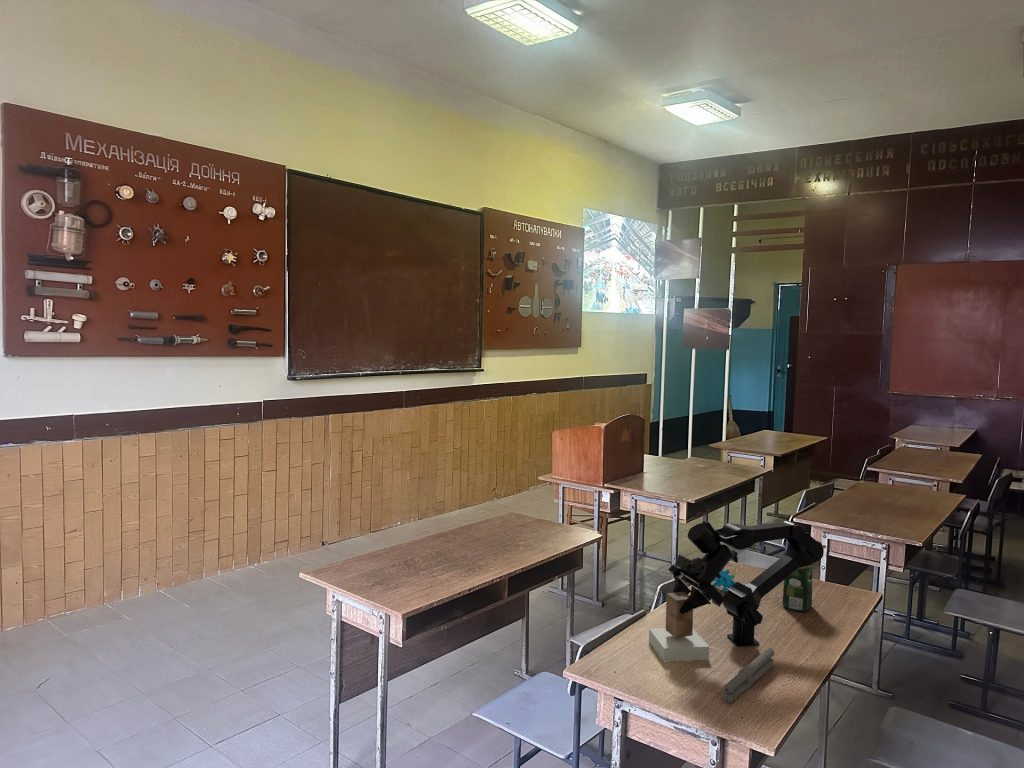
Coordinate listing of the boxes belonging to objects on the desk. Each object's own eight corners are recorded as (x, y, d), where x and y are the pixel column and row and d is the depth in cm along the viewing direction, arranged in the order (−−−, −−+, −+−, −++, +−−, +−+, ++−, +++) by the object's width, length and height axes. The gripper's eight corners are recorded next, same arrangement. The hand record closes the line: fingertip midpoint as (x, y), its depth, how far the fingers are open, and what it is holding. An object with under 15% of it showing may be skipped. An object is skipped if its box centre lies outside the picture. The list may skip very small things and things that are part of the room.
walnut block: (682, 627, 187) (683, 591, 186) (692, 635, 182) (693, 598, 181) (665, 630, 185) (666, 593, 184) (675, 637, 180) (676, 600, 180)
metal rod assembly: (764, 664, 177) (765, 645, 177) (775, 668, 175) (776, 649, 175) (720, 703, 158) (721, 682, 158) (732, 708, 156) (733, 686, 156)
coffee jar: (788, 599, 222) (790, 541, 221) (814, 605, 217) (816, 546, 216) (778, 608, 214) (781, 548, 213) (805, 614, 209) (808, 554, 208)
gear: (722, 591, 223) (708, 563, 229) (710, 600, 227) (696, 572, 232) (744, 589, 229) (729, 562, 235) (732, 598, 233) (718, 571, 239)
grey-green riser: (708, 661, 179) (709, 646, 178) (663, 663, 177) (664, 648, 177) (691, 641, 191) (691, 627, 190) (648, 643, 189) (649, 628, 189)
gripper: (675, 535, 192) (638, 578, 189) (715, 555, 174) (675, 603, 172) (699, 560, 195) (663, 603, 192) (740, 582, 177) (702, 630, 175)
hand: (675, 608), depth 183 cm, fingers closed on walnut block, 5 cm apart
